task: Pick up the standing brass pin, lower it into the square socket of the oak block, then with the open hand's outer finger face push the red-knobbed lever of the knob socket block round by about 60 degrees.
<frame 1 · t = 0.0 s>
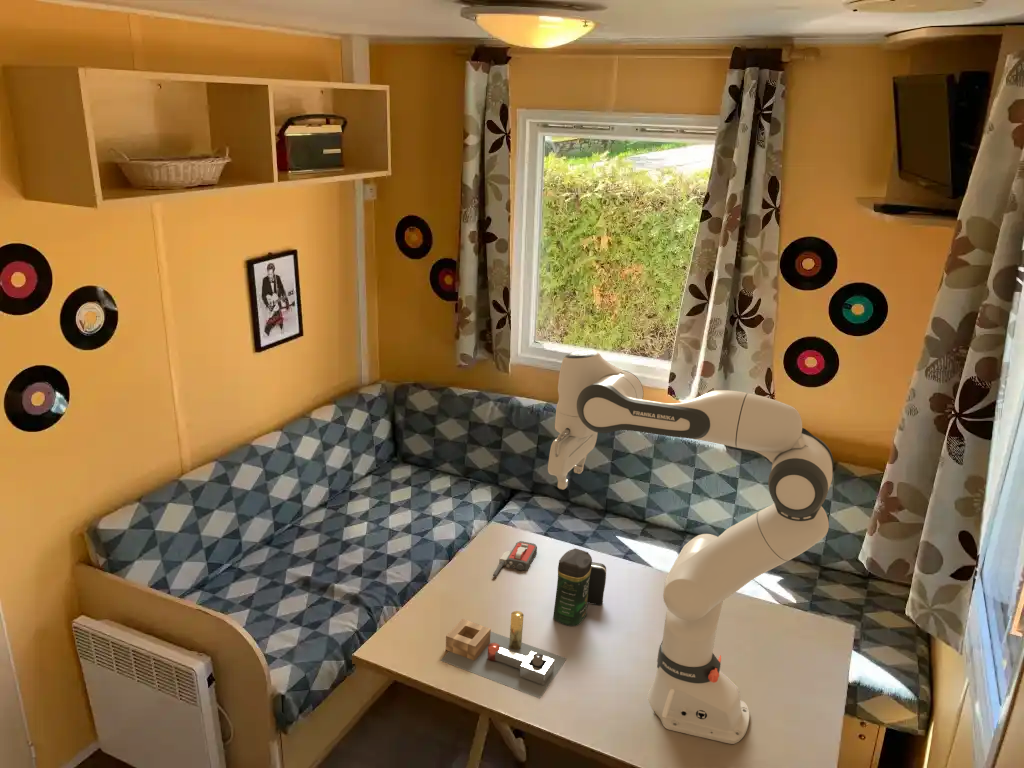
hand: (570, 479, 176), 48 cm above the table, fingers open, 8 cm apart
coffee jar: (570, 617, 208), on the table
mat: (504, 661, 190), on the table
battery charger: (590, 600, 216), on the table
knob socket block: (536, 674, 185), point 1 cm above the table, hinge at 0.0°
pin: (515, 645, 194), point 1 cm above the table, touching mat
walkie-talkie: (515, 565, 232), on the table
post: (536, 674, 185), resting on mat
slot block: (468, 646, 193), resting on mat
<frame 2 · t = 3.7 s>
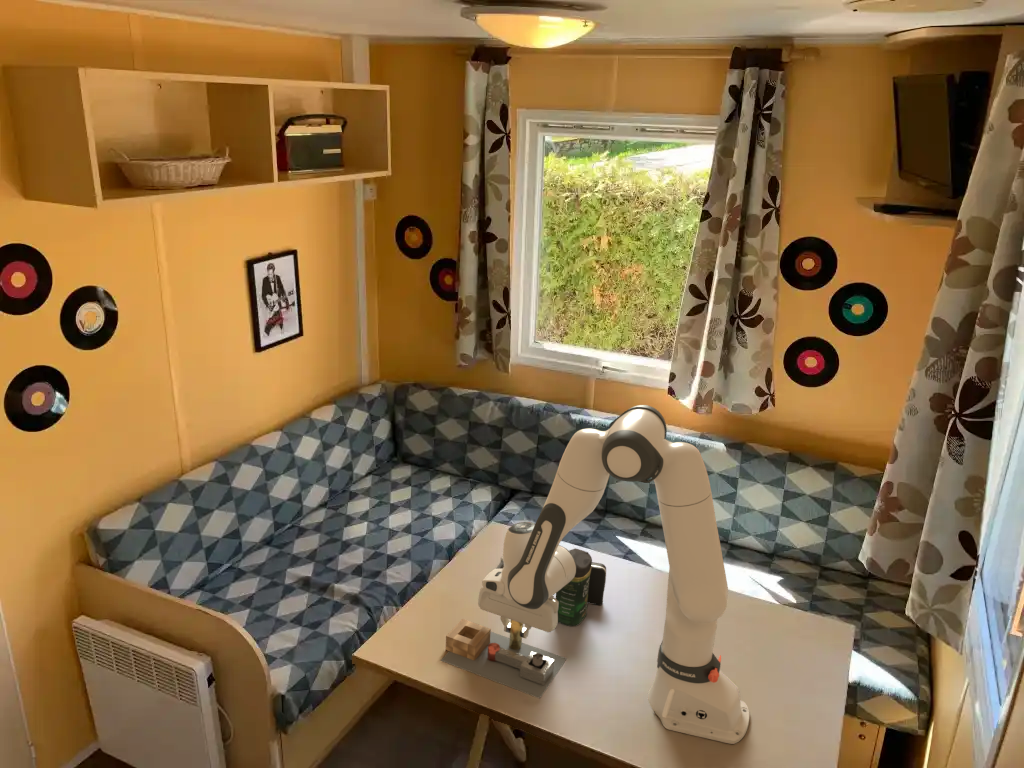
hand: (516, 633, 193), 4 cm above the table, fingers closed on pin, 3 cm apart
pin: (515, 645, 194), point 1 cm above the table, touching gripper, mat
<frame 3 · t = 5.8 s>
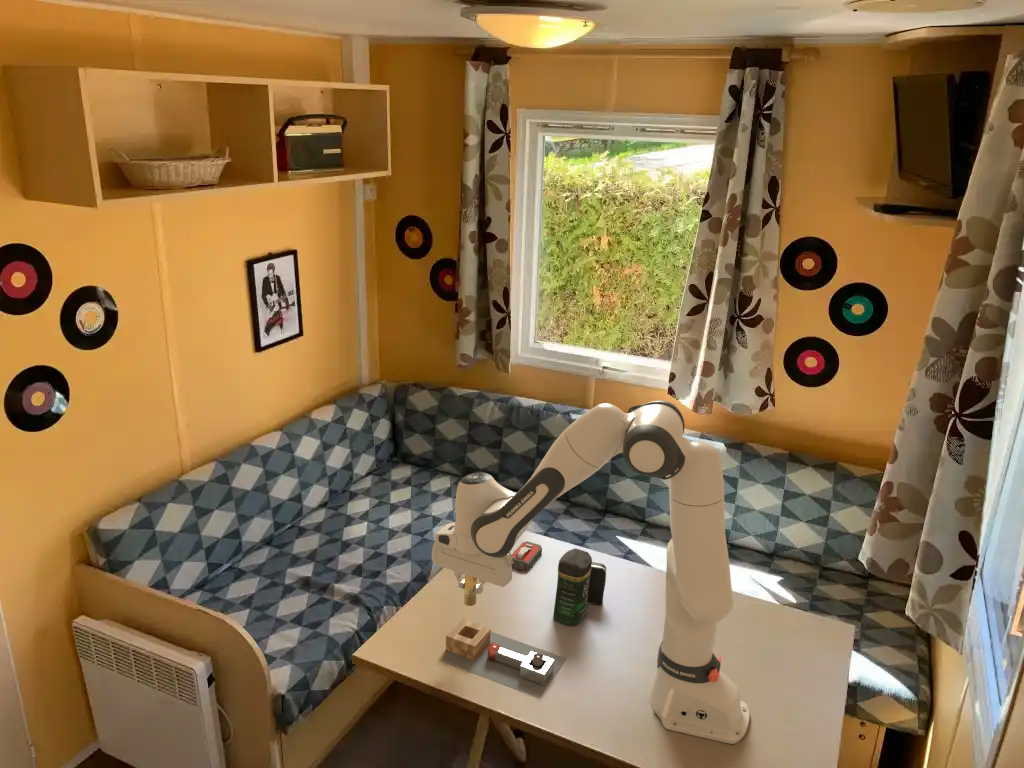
hand: (470, 589, 188), 17 cm above the table, fingers closed on pin, 3 cm apart
pin: (469, 602, 189), point 13 cm above the table, touching gripper
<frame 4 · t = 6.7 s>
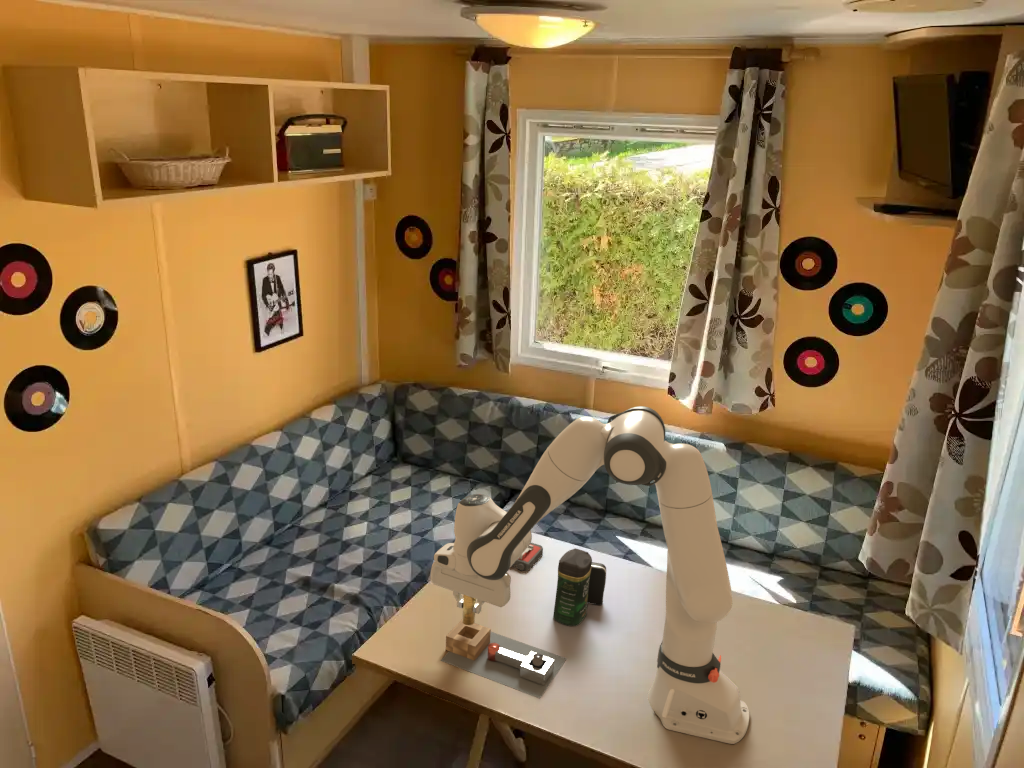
hand: (468, 609, 190), 11 cm above the table, fingers closed on pin, 3 cm apart
pin: (468, 621, 191), point 8 cm above the table, touching gripper
when the fingers open (6 cm above the table, at t = 7.9 s): pin drops 1 cm, resting on mat.
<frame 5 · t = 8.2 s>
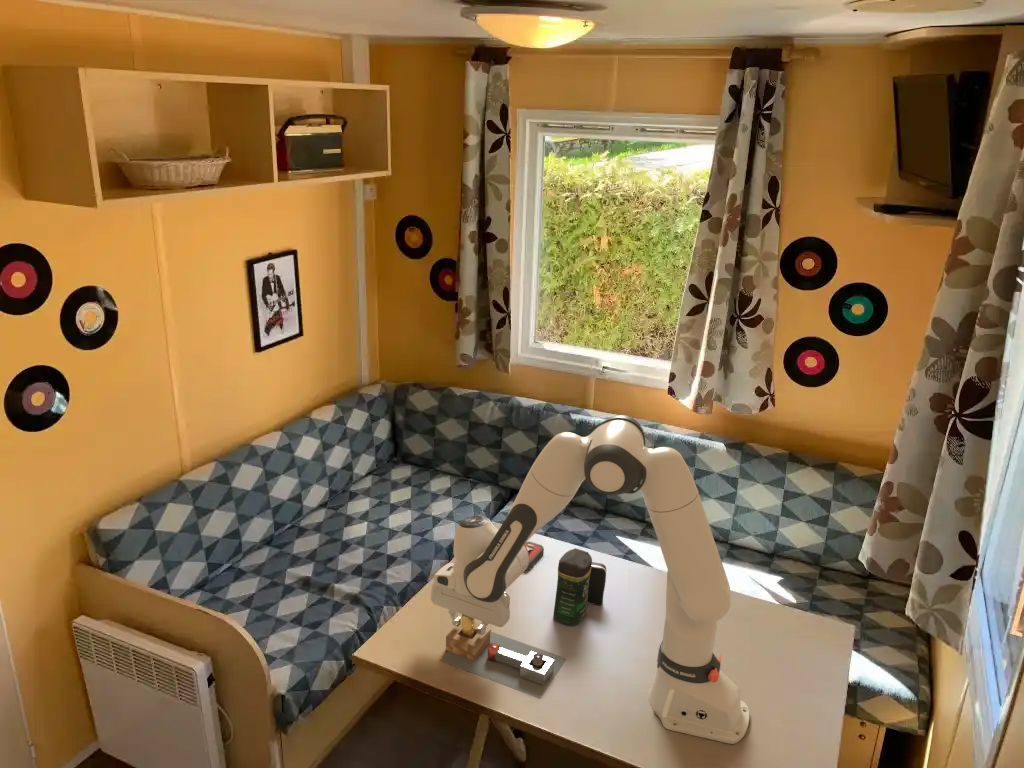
hand: (468, 628, 192), 6 cm above the table, fingers open, 5 cm apart
pin: (468, 645, 193), point 1 cm above the table, touching mat
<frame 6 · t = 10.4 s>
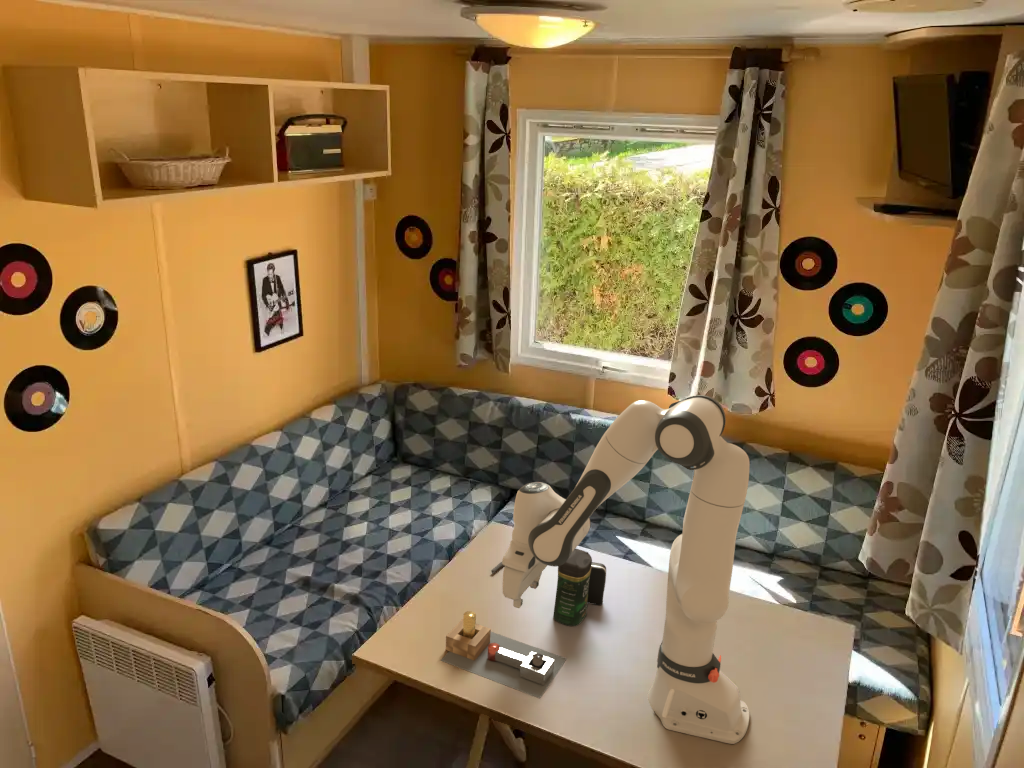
hand: (526, 596, 192), 14 cm above the table, fingers open, 8 cm apart
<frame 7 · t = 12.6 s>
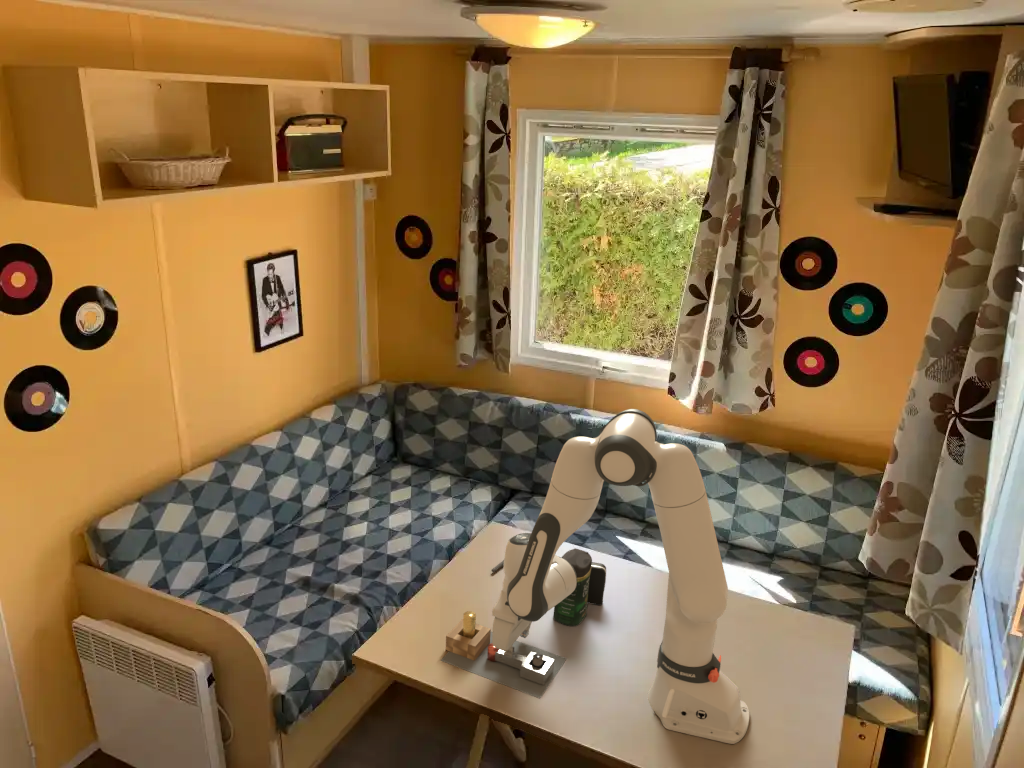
hand: (517, 644, 192), 2 cm above the table, fingers open, 7 cm apart
knob socket block: (536, 674, 185), point 1 cm above the table, hinge at 0.5°, touching gripper
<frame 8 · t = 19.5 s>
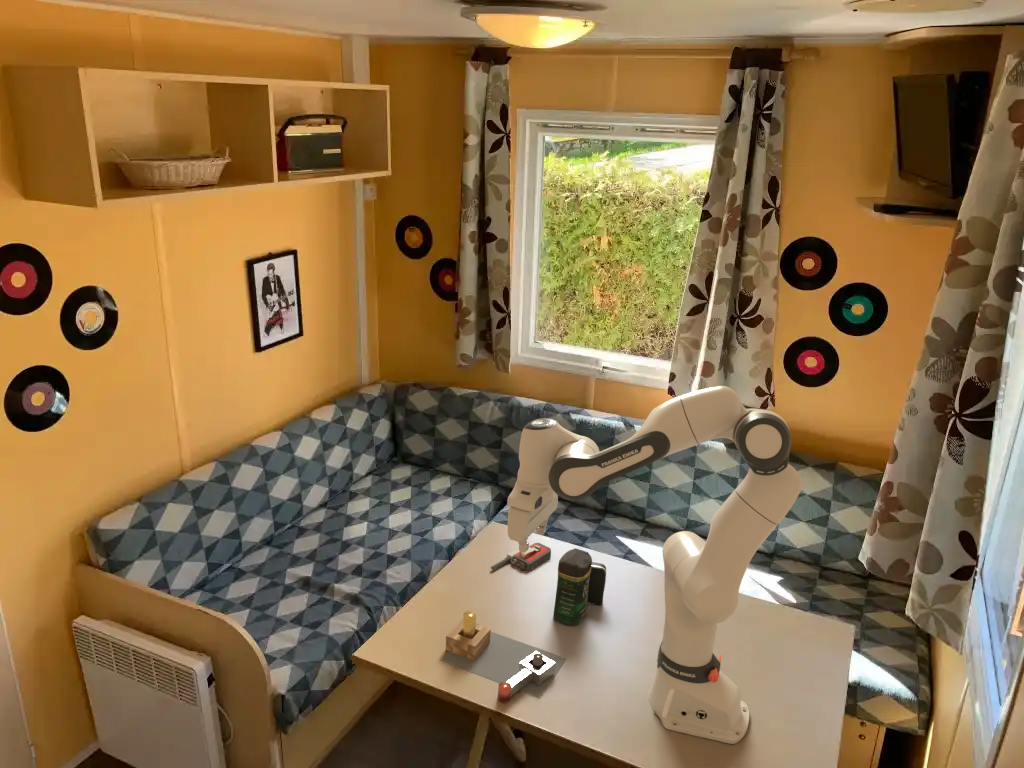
hand: (532, 541, 183), 31 cm above the table, fingers open, 8 cm apart
knob socket block: (536, 674, 185), point 1 cm above the table, hinge at 74.8°
at the end: pin 0.1 cm off-centre on the slot block, point 0.0 cm above the slot block's base; pin tilted 0°; knob socket block at +75° (first picture: +0°) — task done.
